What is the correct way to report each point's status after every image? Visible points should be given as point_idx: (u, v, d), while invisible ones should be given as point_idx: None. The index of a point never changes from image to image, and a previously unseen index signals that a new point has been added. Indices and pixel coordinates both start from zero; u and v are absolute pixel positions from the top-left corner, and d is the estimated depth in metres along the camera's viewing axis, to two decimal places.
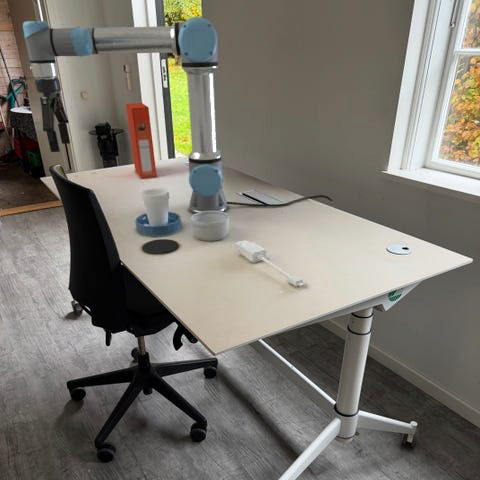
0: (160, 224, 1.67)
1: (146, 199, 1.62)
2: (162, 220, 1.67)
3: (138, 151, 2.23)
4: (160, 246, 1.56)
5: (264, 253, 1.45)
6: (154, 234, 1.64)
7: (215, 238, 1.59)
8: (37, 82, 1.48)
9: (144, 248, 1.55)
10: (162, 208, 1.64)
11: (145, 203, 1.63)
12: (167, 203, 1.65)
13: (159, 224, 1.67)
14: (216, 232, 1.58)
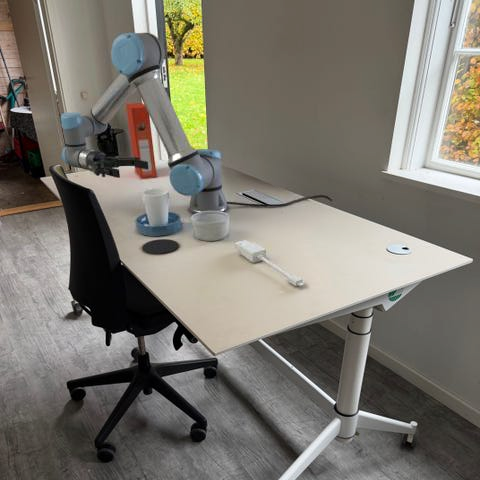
0: (160, 224, 1.67)
1: (146, 199, 1.62)
2: (162, 220, 1.67)
3: (138, 151, 2.23)
4: (160, 246, 1.56)
5: (264, 253, 1.45)
6: (154, 234, 1.64)
7: (215, 238, 1.59)
8: None
9: (144, 248, 1.55)
10: (162, 208, 1.64)
11: (145, 203, 1.63)
12: (167, 203, 1.65)
13: (159, 224, 1.67)
14: (216, 232, 1.58)
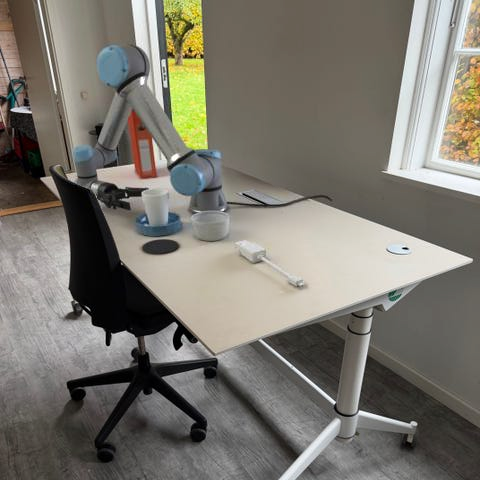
0: (160, 224, 1.67)
1: (146, 199, 1.62)
2: (162, 220, 1.67)
3: (138, 151, 2.23)
4: (160, 246, 1.56)
5: (264, 253, 1.45)
6: (154, 234, 1.64)
7: (215, 238, 1.59)
8: None
9: (144, 248, 1.55)
10: (162, 208, 1.64)
11: (145, 203, 1.63)
12: (167, 203, 1.65)
13: (159, 224, 1.67)
14: (216, 232, 1.58)
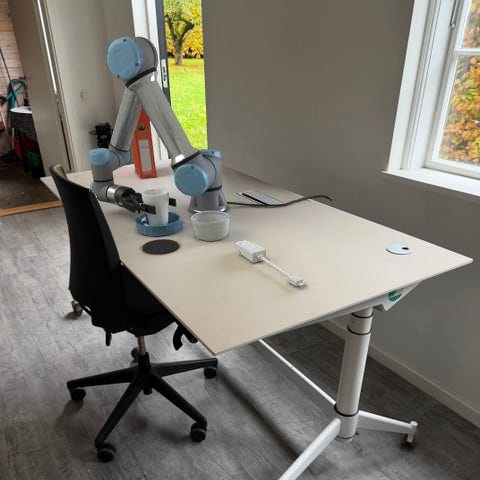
0: (160, 224, 1.67)
1: (146, 199, 1.62)
2: (162, 220, 1.67)
3: (138, 151, 2.23)
4: (160, 246, 1.56)
5: (264, 253, 1.45)
6: (154, 234, 1.64)
7: (215, 238, 1.59)
8: (118, 204, 1.74)
9: (144, 248, 1.55)
10: (162, 208, 1.64)
11: (145, 203, 1.63)
12: (167, 203, 1.65)
13: (159, 224, 1.67)
14: (216, 232, 1.58)
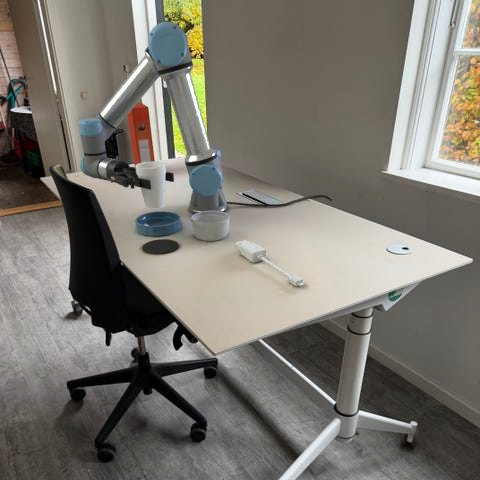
0: (156, 201, 1.51)
1: (140, 172, 1.46)
2: (158, 197, 1.51)
3: (138, 151, 2.23)
4: (160, 246, 1.56)
5: (264, 253, 1.45)
6: (154, 234, 1.64)
7: (215, 238, 1.59)
8: (111, 179, 1.58)
9: (144, 248, 1.55)
10: (158, 183, 1.48)
11: (139, 177, 1.47)
12: (164, 177, 1.49)
13: (155, 201, 1.51)
14: (216, 232, 1.58)
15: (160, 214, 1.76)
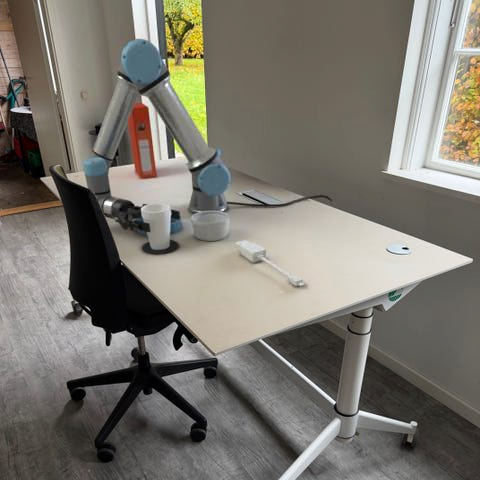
0: (161, 243, 1.52)
1: (146, 216, 1.47)
2: (164, 239, 1.52)
3: (138, 151, 2.23)
4: None
5: (264, 253, 1.45)
6: None
7: (215, 238, 1.59)
8: None
9: (144, 248, 1.55)
10: (163, 225, 1.49)
11: (145, 220, 1.49)
12: (169, 220, 1.50)
13: (160, 243, 1.52)
14: (216, 232, 1.58)
15: None
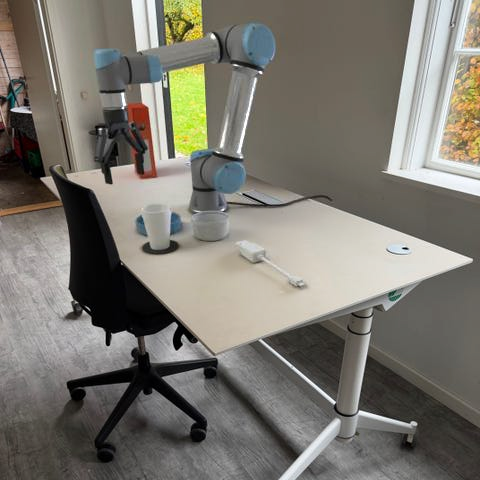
0: (161, 243, 1.52)
1: (146, 216, 1.47)
2: (164, 239, 1.52)
3: None
4: None
5: (264, 253, 1.45)
6: None
7: (215, 238, 1.59)
8: None
9: (144, 248, 1.55)
10: (163, 225, 1.49)
11: (145, 220, 1.49)
12: (169, 220, 1.50)
13: (160, 243, 1.52)
14: (216, 232, 1.58)
15: None
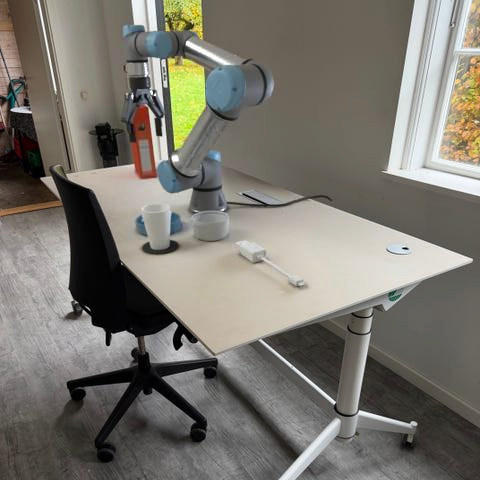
0: (161, 243, 1.52)
1: (146, 216, 1.47)
2: (164, 239, 1.52)
3: (138, 151, 2.23)
4: None
5: (264, 253, 1.45)
6: None
7: (215, 238, 1.59)
8: (129, 79, 1.66)
9: (144, 248, 1.55)
10: (163, 225, 1.49)
11: (145, 220, 1.49)
12: (169, 220, 1.50)
13: (160, 243, 1.52)
14: (216, 232, 1.58)
15: None
